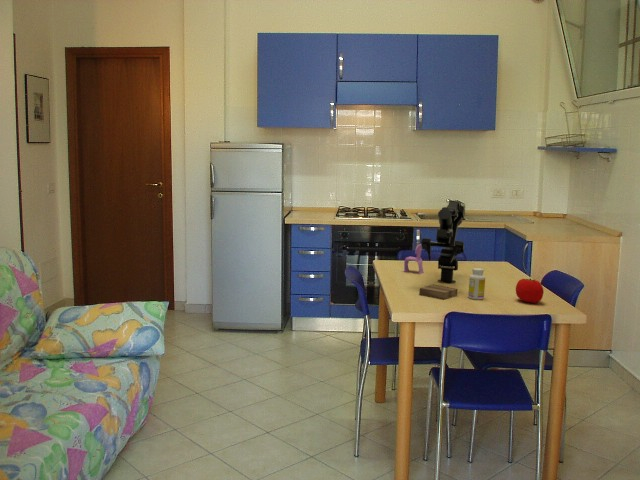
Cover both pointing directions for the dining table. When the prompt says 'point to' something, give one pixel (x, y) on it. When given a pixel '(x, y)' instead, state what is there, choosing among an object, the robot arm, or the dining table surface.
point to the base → (438, 291)
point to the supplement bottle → (476, 284)
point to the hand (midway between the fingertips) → (439, 261)
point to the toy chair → (417, 259)
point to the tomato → (529, 290)
